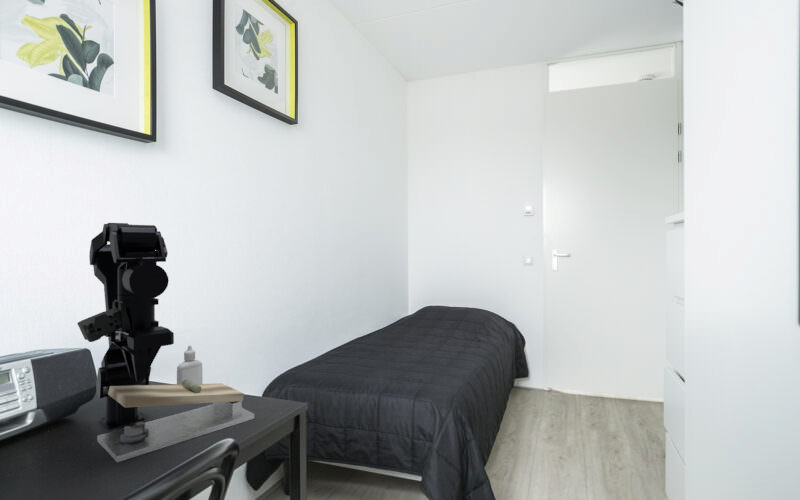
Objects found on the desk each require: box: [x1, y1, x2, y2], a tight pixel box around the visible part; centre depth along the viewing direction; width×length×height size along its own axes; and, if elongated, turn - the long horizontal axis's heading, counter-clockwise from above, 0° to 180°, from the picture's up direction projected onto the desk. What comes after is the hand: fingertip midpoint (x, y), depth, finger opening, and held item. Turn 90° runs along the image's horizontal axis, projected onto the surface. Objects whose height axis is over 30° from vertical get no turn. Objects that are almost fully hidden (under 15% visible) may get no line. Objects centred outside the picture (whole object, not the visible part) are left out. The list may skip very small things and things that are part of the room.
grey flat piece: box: [96, 401, 255, 463], centre depth 86 cm, size 12×25×4 cm, turn 138°
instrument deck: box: [108, 380, 245, 408], centre depth 86 cm, size 10×22×3 cm, turn 138°
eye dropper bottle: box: [176, 345, 203, 385], centre depth 106 cm, size 4×6×12 cm
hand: (137, 379), depth 79 cm, fingers open, 3 cm apart
